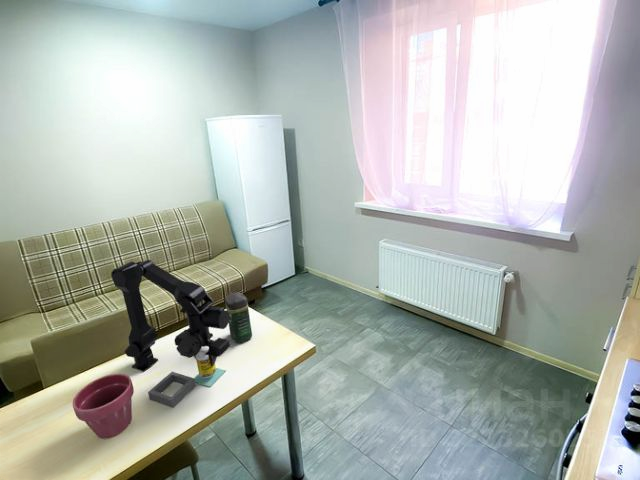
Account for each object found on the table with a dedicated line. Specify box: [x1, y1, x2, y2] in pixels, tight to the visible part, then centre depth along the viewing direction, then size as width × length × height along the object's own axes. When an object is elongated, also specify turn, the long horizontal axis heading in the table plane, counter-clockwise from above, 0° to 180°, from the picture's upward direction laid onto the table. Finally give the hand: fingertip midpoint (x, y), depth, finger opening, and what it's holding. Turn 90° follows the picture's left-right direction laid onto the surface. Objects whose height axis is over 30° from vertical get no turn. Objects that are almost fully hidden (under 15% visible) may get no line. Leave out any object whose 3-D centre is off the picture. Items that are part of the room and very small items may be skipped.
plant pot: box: [72, 373, 135, 440], centre depth 96 cm, size 14×14×13 cm
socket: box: [147, 371, 197, 409], centre depth 108 cm, size 10×10×3 cm
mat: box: [193, 367, 227, 388], centre depth 115 cm, size 8×8×1 cm
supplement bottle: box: [195, 346, 217, 378], centre depth 113 cm, size 6×6×10 cm
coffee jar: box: [224, 291, 253, 344], centre depth 133 cm, size 10×8×19 cm
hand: (206, 363), depth 113 cm, fingers closed on supplement bottle, 5 cm apart
